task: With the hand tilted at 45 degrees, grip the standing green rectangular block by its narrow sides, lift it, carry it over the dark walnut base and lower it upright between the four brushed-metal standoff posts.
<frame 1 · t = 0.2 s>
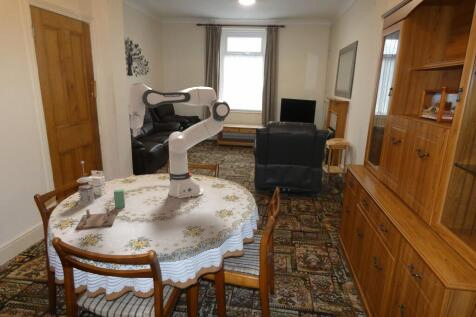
hand: (136, 135, 169), 38 cm above the table, tool pointing down, fingers open, 8 cm apart
ink cartridge box: (97, 194, 181), on the table
green rectangular block: (120, 206, 164), on the table
standoff cradle: (97, 221, 146), on the table
french press: (87, 203, 168), on the table
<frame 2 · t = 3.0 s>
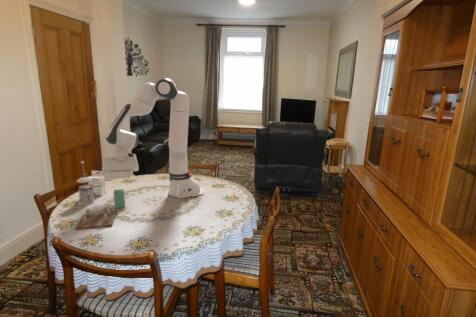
hand: (120, 177, 169), 14 cm above the table, tool tilted 45°, fingers open, 8 cm apart
nothing on the table moved.
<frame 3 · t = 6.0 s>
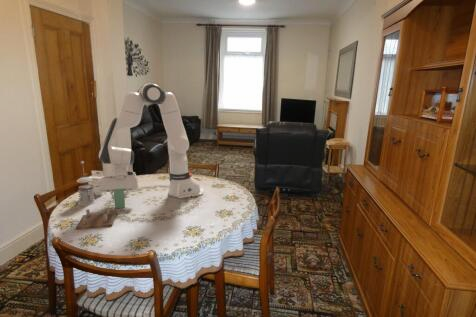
hand: (119, 197, 161), 6 cm above the table, tool tilted 45°, fingers closed on green rectangular block, 5 cm apart
green rectangular block: (120, 206, 164), on the table, touching gripper
everything else where it was.
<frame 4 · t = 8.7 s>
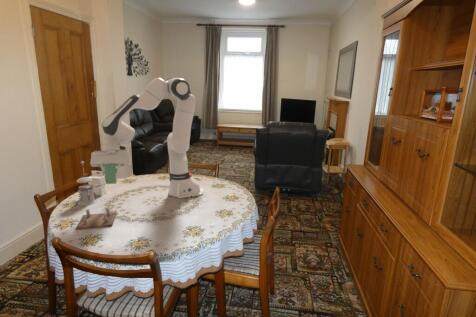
hand: (110, 172, 153), 22 cm above the table, tool tilted 45°, fingers closed on green rectangular block, 5 cm apart
green rectangular block: (111, 182, 155), point 16 cm above the table, touching gripper
everything else where it was.
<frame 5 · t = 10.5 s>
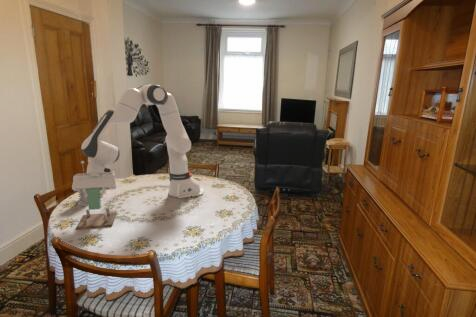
hand: (93, 197, 142), 13 cm above the table, tool tilted 45°, fingers closed on green rectangular block, 5 cm apart
green rectangular block: (95, 208, 144), point 7 cm above the table, touching gripper
everything else where it was.
when the fingers open (8 cm above the table, at t = 11.7 s): green rectangular block drops 1 cm, resting on standoff cradle.
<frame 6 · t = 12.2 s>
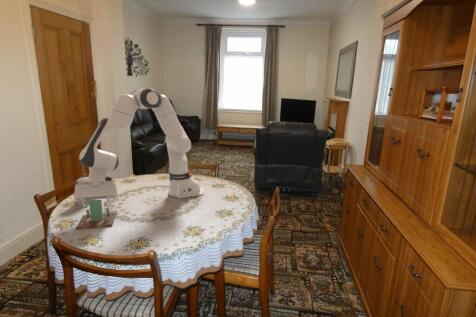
hand: (95, 206, 144), 8 cm above the table, tool tilted 45°, fingers open, 8 cm apart
green rectangular block: (97, 219, 146), point 1 cm above the table, touching standoff cradle
everything else where it was.
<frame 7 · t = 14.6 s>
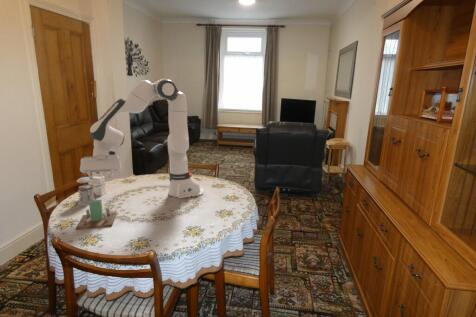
hand: (100, 178, 152), 19 cm above the table, tool tilted 45°, fingers open, 8 cm apart
nothing on the table moved.
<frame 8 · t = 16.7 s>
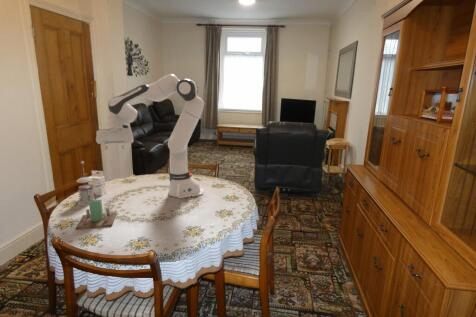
hand: (114, 148, 166), 31 cm above the table, tool tilted 45°, fingers open, 8 cm apart
nothing on the table moved.
at the end: green rectangular block 0.1 cm off-centre on the standoff cradle, point 1.0 cm above the standoff cradle's base; green rectangular block tilted 0°; the gripper is holding nothing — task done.
